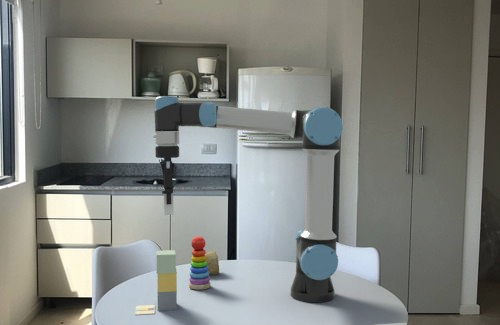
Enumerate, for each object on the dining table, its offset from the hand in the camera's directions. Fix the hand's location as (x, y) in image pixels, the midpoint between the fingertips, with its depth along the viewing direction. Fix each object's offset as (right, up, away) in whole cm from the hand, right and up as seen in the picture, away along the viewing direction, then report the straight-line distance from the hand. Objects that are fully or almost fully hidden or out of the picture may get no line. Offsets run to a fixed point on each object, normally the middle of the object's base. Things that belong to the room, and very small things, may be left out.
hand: (168, 211), depth 169 cm
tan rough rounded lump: (+10, -29, +41) cm, 51 cm away
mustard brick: (-1, -25, +2) cm, 25 cm away
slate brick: (-1, -31, +2) cm, 31 cm away
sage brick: (-1, -19, +1) cm, 19 cm away
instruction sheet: (-7, -31, -1) cm, 32 cm away
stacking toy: (+8, -30, +24) cm, 39 cm away
